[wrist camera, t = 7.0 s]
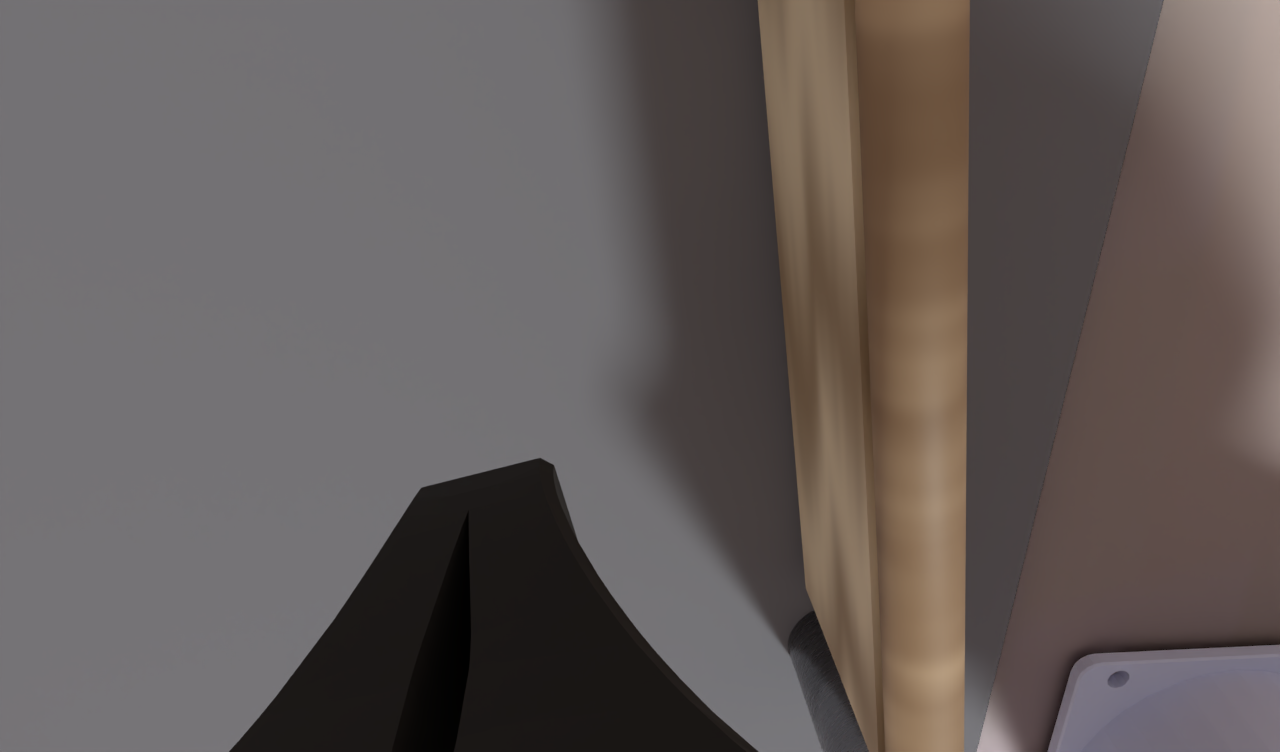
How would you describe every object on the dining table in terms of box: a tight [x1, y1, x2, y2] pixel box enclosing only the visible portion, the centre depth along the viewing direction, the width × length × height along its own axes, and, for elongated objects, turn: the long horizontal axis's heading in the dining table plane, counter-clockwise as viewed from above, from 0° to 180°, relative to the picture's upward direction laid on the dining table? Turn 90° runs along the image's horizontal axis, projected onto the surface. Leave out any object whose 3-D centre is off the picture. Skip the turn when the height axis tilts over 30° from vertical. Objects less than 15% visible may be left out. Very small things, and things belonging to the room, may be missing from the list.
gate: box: [758, 0, 970, 752], centre depth 16 cm, size 16×2×6 cm, turn 8°
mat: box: [0, 0, 1164, 752], centre depth 19 cm, size 22×24×1 cm
